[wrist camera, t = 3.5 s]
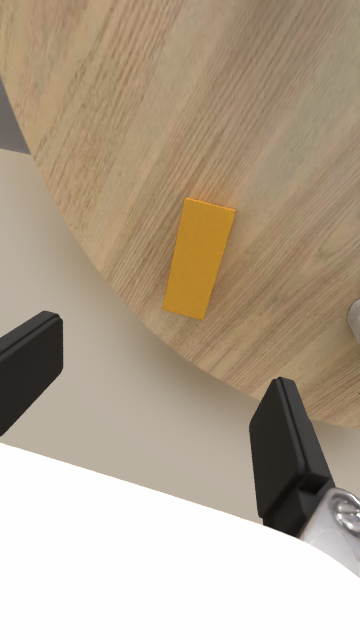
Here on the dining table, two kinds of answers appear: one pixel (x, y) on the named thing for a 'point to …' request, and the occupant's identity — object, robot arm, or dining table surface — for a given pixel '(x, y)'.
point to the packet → (197, 257)
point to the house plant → (355, 319)
